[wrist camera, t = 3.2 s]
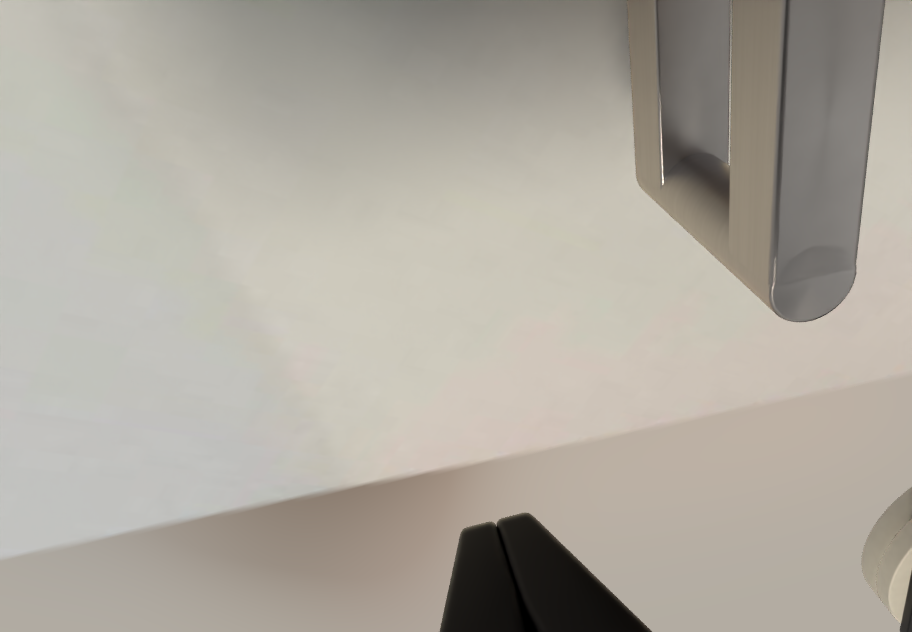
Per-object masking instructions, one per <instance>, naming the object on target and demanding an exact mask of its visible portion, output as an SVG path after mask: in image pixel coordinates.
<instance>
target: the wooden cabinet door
mask: <svg viewBox="0 0 912 632" xmlns="http://www.w3.org/2000/svg"><path fill="white" fill-rule="evenodd" d="M884 6H885V0H732V59H731V130H730V166H729V165H728V150H729V72H730V0H627V12H628V31H629V50H630V69H631V88H632V107H633V127H634V146H635V165H636V178H637V181H638V184H639V186H640V187H641V189H642V190H643V191H644V192H645V193H646V194H648V195H649V196H650V197H651V198H652V199H653V200H654V201H655V202H656V203H657V204H658V205H659V206H660V207H662V208H663V209H664V210H665V211H666V212H667V213H668V214H669V215H670V216H671V217H672V218H673V219H674V220H676V221H677V222H678V223H679V224H680V225H681V226H682V227H683V228H684V229H685V230H686V231H687V232H688V233H690V234H691V235H692V236H693V237H694V238H695V239H696V240H697V241H698V242H699V243H700V244H701V245H702V246H704V247H705V248H706V249H707V250H708V251H709V252H710V253H711V254H712V255H713V256H714V257H715V258H716V259H717V260H719V261H720V262H721V263H722V264H723V265H724V266H725V267H726V268H727V269H728V270H729V271H730V272H731V273H733V274H734V275H735V276H736V277H737V278H738V279H739V280H740V281H741V282H742V283H743V284H744V285H745V286H747V287H748V288H749V289H750V290H751V291H752V292H753V293H754V294H755V295H756V296H757V297H758V298H759V299H761V300H762V301H763V302H764V303H765V304H766V305H767V306H768V307H769V308H770V309H771V310H772V311H773V312H775V313H776V314H777V315H778V316H779V317H781V318H783V319H785V320H788V321H793V322H807V321H812V320H815V319H818V318H820V317H822V316H824V315H826V314H828V313H829V312H831V311H832V310H833V309H835V308H836V307H837V306H838V305H839V304H840V303H841V302H842V301H843V300H844V299H845V297H846V296H847V294H848V293H849V291H850V289H851V288H852V285H853V283H854V280H855V276H856V259H857V250H858V241H859V232H860V223H861V214H862V205H863V196H864V187H865V178H866V169H867V160H868V151H869V142H870V133H871V124H872V115H873V105H874V96H875V87H876V78H877V69H878V60H879V51H880V42H881V33H882V24H883V15H884Z"/></svg>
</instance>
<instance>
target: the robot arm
mask: <svg viewBox="0 0 912 632" xmlns="http://www.w3.org/2000/svg"><path fill="white" fill-rule="evenodd" d="M440 632H652V631H651V630H650V629H649V628H647V626H646V625H644V623H643V622H641V620H640V619H639V618H637V617H636V616H635V615H634V614H633V613H632V612H631V611H630V610H629V609H628V608H627V607H626V606H625V605H624V604H623V603H622V602H621V601H620V600H619V599H618V598H617V597H616V596H615V595H614V594H613V593H612V592H611V591H610V590H609V589H607V588H606V586H605V585H604V584H603V583H601V582H600V581H599V580H598V579H597V578H596V577H595V576H594V575H593V574H592V573H591V572H590V571H589V570H588V569H587V568H586V567H585V566H584V565H583V564H582V563H581V562H580V561H579V560H578V559H577V558H576V557H575V556H573V554H572V553H571V552H570V551H569V550H567V549H566V548H565V547H564V546H563V545H562V544H561V543H560V542H559V541H558V540H557V539H556V538H555V537H554V536H553V535H552V534H551V533H550V532H549V531H548V530H547V529H546V528H545V527H544V526H543V525H542V524H541V523H540V522H539V521H538V520H536V518H534V517H533V516H532V515H531V514H529V513H521V514H517V515H513V516H509V517H505V518H502V519H500V520H499V521H498V522H497V527H496V525H495V524H494V523H493V522H486V523H482V524H479V525H474V526H471V527H467V528H464V529H463V531H462V532H461V534H460V539H459V543H458V548H457V553H456V557H455V562H454V567H453V571H452V577H451V581H450V585H449V590H448V595H447V600H446V604H445V609H444V614H443V618H442V623H441V628H440ZM900 632H912V571H911V576H910V581H909V586H908V591H907V596H906V601H905V606H904V611H903V616H902V621H901V626H900Z"/></svg>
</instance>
